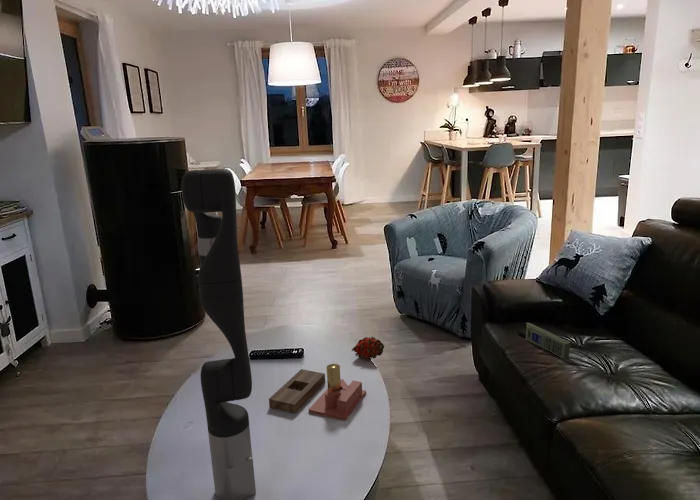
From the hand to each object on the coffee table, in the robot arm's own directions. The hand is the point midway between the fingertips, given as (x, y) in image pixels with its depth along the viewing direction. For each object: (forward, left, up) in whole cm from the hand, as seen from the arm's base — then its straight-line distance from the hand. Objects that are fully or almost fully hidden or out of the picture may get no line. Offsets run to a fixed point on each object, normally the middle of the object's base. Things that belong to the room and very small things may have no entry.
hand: (217, 304), depth 146 cm
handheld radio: (-42, -107, -34) cm, 120 cm away
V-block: (-21, -26, -33) cm, 47 cm away
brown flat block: (-9, -20, -33) cm, 40 cm away
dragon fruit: (-5, -53, -33) cm, 63 cm away
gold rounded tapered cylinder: (-21, -26, -32) cm, 46 cm away
